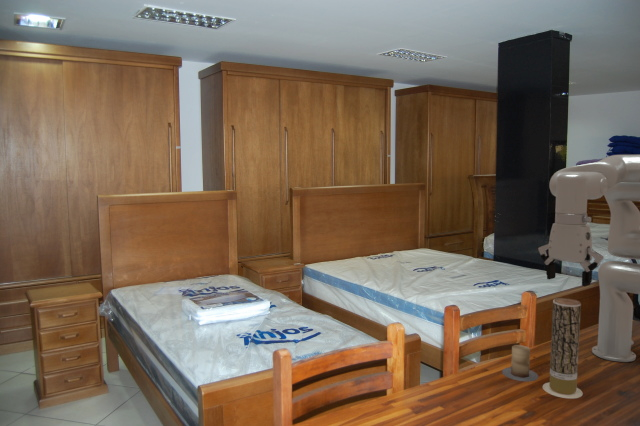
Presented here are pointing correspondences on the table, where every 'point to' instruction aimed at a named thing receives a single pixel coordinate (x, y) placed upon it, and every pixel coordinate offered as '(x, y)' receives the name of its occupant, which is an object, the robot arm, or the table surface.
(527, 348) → the beige rounded cylinder
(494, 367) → the table surface
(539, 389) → the table surface
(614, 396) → the table surface
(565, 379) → the brown bark cylinder
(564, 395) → the cream pad
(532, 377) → the board
